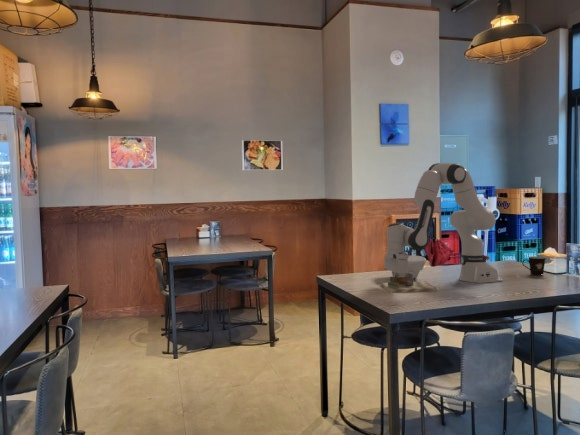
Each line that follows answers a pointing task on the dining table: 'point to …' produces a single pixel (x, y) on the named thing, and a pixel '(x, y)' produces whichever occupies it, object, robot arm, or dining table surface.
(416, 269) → the bowl
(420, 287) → the tuner board
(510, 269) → the dining table surface
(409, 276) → the tuning peg
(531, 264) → the coffee mug
